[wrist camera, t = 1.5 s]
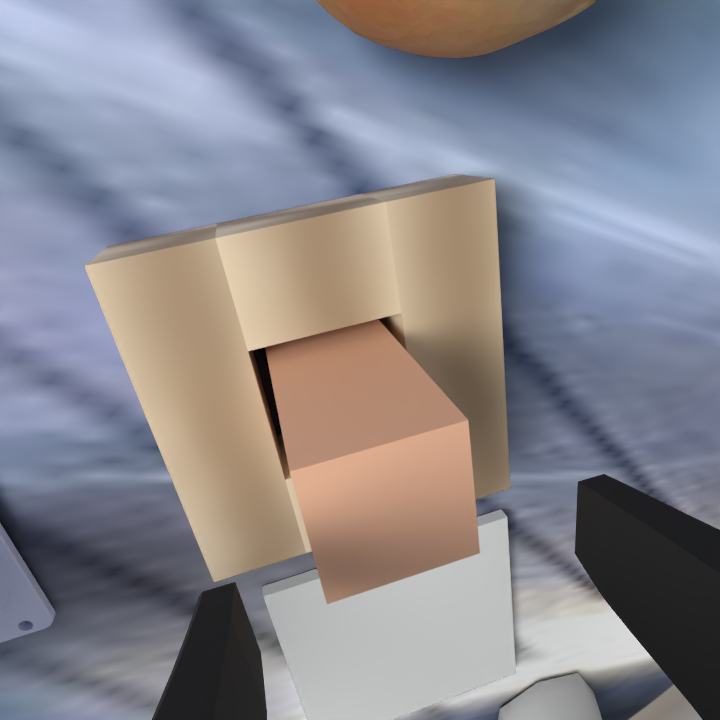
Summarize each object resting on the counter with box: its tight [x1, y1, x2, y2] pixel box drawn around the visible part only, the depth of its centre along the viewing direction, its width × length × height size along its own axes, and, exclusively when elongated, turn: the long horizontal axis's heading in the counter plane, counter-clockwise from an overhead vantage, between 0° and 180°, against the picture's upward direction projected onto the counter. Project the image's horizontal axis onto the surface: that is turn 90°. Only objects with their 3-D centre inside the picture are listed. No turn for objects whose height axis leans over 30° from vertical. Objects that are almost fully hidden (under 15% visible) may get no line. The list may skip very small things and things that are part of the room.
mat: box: [262, 509, 516, 720], centre depth 26 cm, size 12×12×1 cm
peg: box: [265, 319, 480, 604], centre depth 16 cm, size 4×4×9 cm
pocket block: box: [85, 174, 510, 582], centre depth 18 cm, size 12×12×3 cm
